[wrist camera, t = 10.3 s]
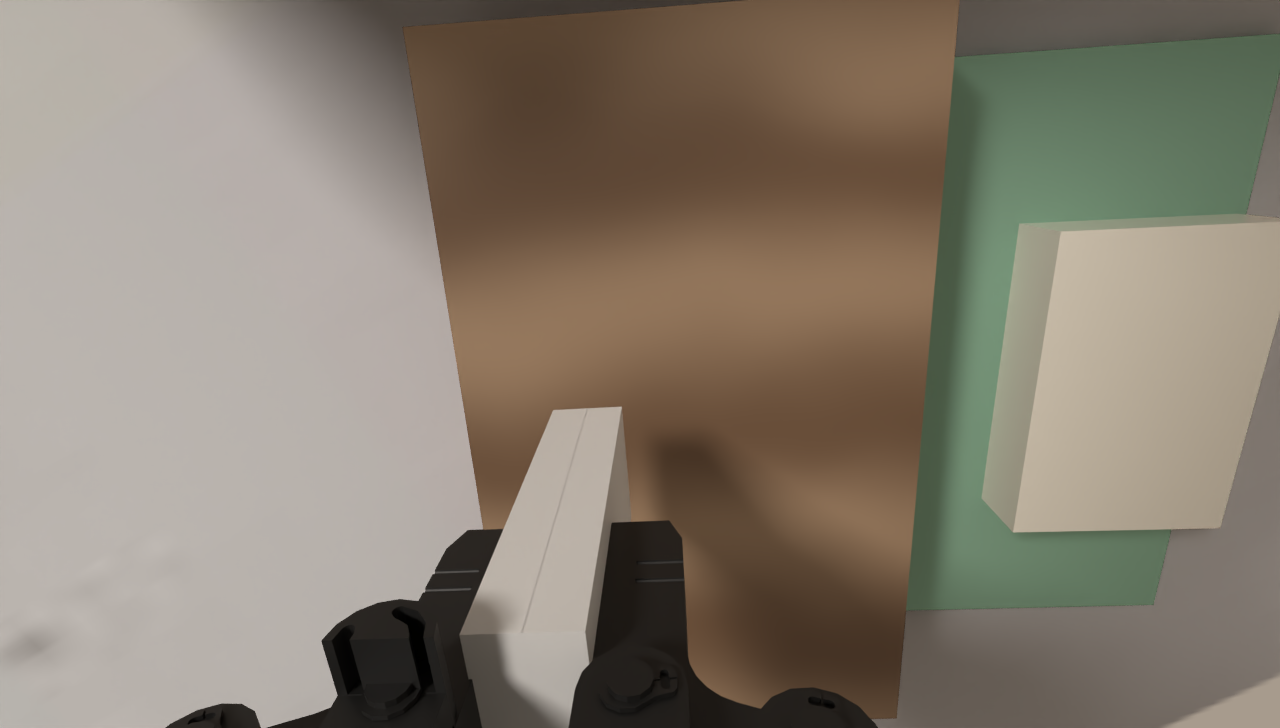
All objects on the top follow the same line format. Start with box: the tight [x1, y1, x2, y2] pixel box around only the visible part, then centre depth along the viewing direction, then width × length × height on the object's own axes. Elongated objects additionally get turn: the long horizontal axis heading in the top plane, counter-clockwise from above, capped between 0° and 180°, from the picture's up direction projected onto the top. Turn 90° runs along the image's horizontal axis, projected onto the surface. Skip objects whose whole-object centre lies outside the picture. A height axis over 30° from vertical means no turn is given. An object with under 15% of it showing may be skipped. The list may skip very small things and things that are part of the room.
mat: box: [906, 34, 1280, 610], centre depth 19 cm, size 18×10×1 cm, turn 3°
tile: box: [982, 214, 1280, 532], centre depth 18 cm, size 9×6×2 cm, turn 3°
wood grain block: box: [403, 0, 960, 719], centre depth 18 cm, size 20×12×4 cm, turn 3°
